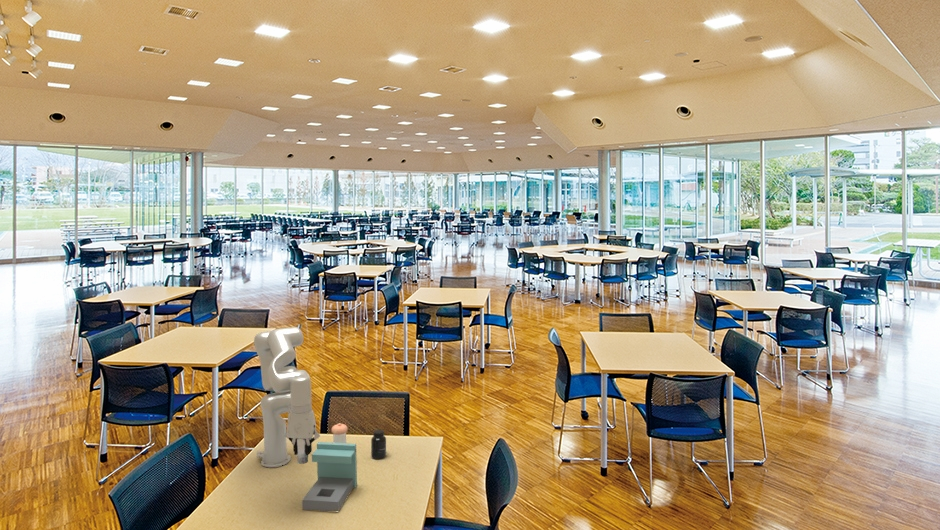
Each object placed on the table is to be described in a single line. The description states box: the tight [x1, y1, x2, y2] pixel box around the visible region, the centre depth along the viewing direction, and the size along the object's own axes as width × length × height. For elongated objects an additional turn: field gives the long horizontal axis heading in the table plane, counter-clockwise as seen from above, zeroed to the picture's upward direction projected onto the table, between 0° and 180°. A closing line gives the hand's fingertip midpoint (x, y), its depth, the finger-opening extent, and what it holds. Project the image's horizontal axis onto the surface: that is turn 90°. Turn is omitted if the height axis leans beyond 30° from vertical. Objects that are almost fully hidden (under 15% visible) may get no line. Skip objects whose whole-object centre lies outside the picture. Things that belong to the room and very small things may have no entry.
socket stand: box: [301, 441, 358, 512], centre depth 212 cm, size 16×20×18 cm
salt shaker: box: [331, 422, 348, 443], centre depth 239 cm, size 7×7×19 cm
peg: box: [296, 438, 309, 465], centre depth 207 cm, size 4×4×12 cm
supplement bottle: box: [370, 429, 387, 460], centre depth 248 cm, size 7×7×12 cm
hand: (302, 453), depth 207 cm, fingers closed on peg, 4 cm apart
